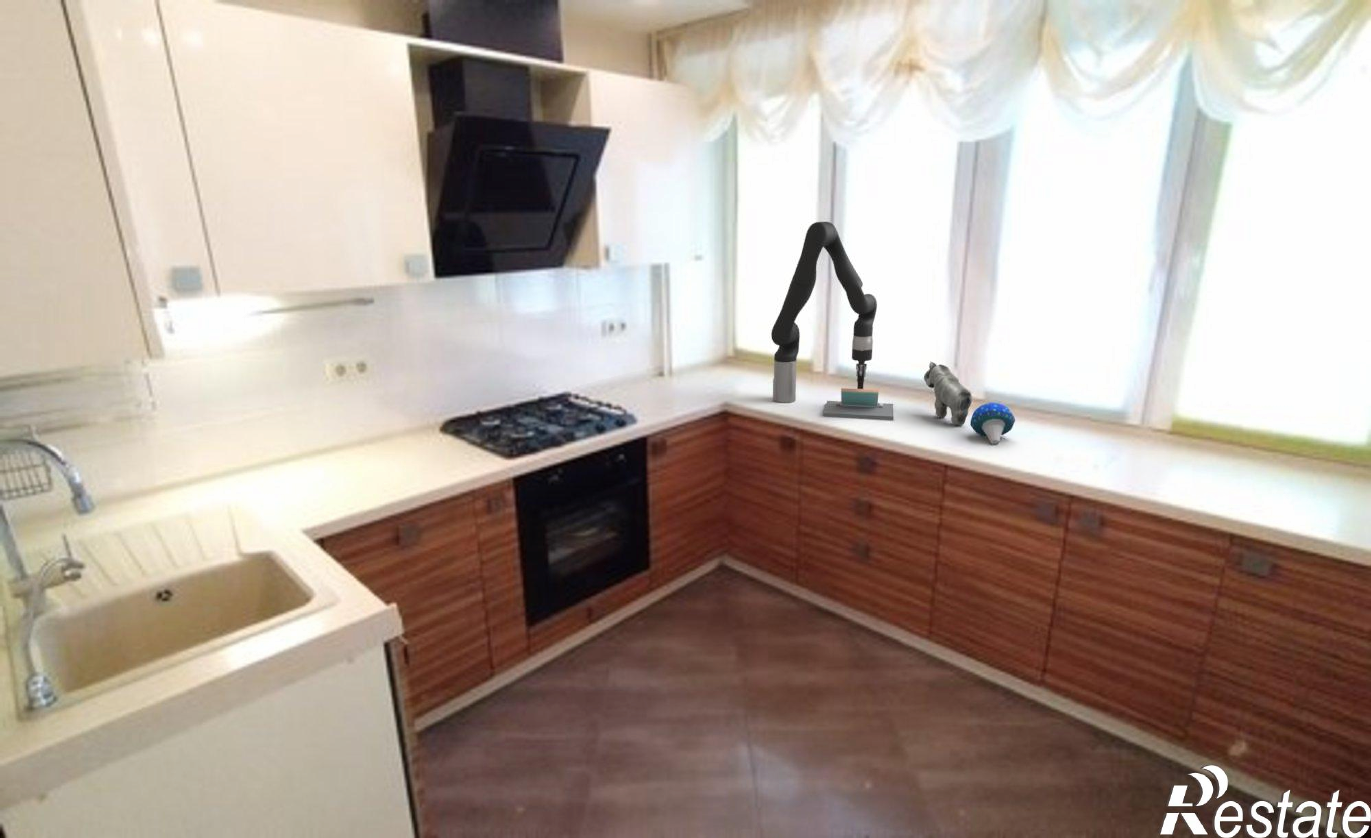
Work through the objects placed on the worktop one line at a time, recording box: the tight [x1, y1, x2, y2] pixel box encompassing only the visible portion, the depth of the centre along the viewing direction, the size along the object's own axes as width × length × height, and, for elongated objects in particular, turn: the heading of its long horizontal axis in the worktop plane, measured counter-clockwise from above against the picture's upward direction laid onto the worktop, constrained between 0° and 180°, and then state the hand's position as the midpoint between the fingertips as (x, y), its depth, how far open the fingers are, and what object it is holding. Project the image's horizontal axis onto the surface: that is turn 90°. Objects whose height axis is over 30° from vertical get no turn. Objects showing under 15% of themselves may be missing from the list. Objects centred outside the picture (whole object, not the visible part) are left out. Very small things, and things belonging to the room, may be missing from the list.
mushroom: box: [969, 402, 1016, 445], centre depth 227 cm, size 14×14×15 cm
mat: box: [823, 400, 895, 421], centre depth 262 cm, size 26×18×3 cm
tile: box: [840, 387, 880, 406], centre depth 261 cm, size 14×10×2 cm
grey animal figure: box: [923, 361, 973, 427], centre depth 249 cm, size 25×9×20 cm, turn 15°
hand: (860, 391), depth 259 cm, fingers closed
